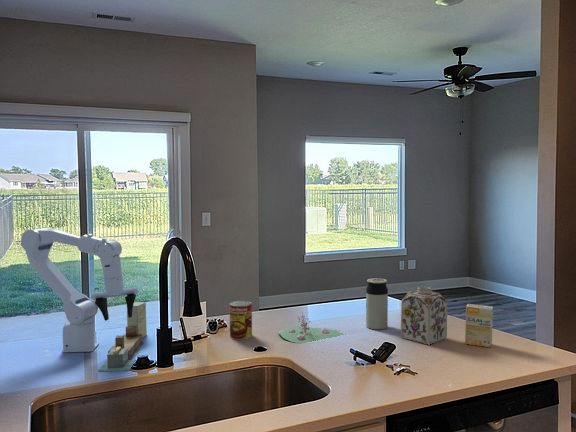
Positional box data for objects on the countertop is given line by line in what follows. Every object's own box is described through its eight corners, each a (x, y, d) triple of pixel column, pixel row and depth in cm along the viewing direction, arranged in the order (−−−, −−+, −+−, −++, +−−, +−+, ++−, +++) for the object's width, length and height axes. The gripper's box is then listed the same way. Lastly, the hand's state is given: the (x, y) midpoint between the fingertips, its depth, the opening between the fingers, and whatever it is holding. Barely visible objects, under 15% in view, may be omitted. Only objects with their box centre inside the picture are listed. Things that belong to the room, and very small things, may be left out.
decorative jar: (428, 346, 164) (429, 292, 163) (399, 338, 173) (400, 287, 172) (448, 338, 172) (448, 287, 171) (419, 331, 181) (419, 282, 180)
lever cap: (107, 368, 145) (107, 352, 145) (113, 361, 151) (112, 345, 151) (123, 367, 145) (122, 351, 145) (128, 360, 151) (127, 345, 151)
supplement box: (464, 344, 165) (465, 306, 164) (466, 340, 170) (467, 303, 169) (491, 348, 161) (491, 308, 161) (492, 344, 166) (493, 305, 165)
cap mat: (98, 371, 143) (98, 370, 143) (106, 361, 151) (106, 360, 151) (129, 370, 144) (129, 369, 144) (136, 360, 152) (136, 359, 152)
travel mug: (390, 326, 188) (390, 279, 187) (382, 331, 181) (383, 282, 180) (371, 323, 192) (371, 277, 191) (362, 328, 185) (362, 280, 184)
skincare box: (138, 340, 172) (137, 306, 172) (126, 339, 173) (126, 305, 173) (147, 335, 179) (146, 301, 178) (135, 334, 180) (135, 301, 179)
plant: (338, 326, 190) (338, 302, 190) (355, 342, 170) (355, 316, 170) (274, 329, 186) (274, 306, 185) (284, 347, 166) (284, 320, 165)
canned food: (225, 338, 174) (225, 304, 173) (236, 332, 181) (236, 299, 181) (245, 340, 171) (245, 306, 171) (255, 334, 179) (255, 301, 178)
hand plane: (130, 360, 153) (129, 337, 152) (107, 360, 152) (106, 338, 152) (143, 342, 170) (142, 322, 170) (122, 342, 170) (122, 322, 169)
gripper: (86, 282, 157) (92, 324, 157) (132, 276, 158) (137, 318, 158) (93, 278, 164) (99, 318, 164) (137, 273, 165) (143, 313, 165)
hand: (118, 318), depth 162 cm, fingers open, 7 cm apart
